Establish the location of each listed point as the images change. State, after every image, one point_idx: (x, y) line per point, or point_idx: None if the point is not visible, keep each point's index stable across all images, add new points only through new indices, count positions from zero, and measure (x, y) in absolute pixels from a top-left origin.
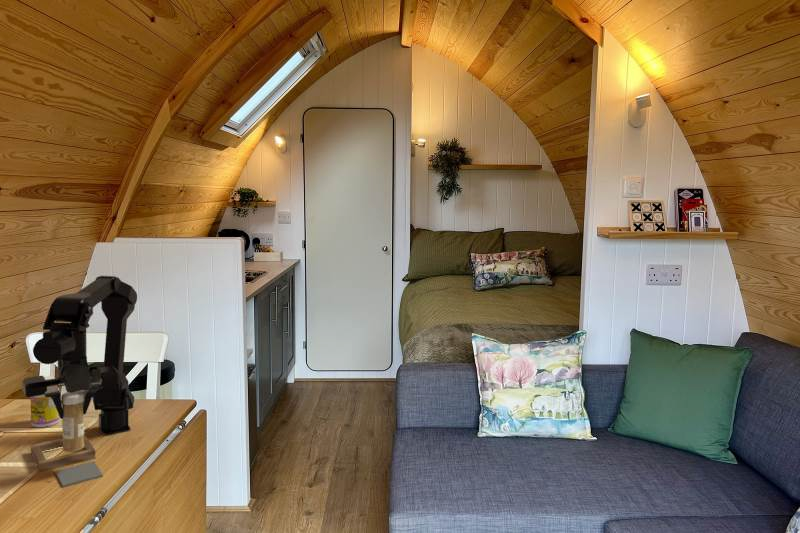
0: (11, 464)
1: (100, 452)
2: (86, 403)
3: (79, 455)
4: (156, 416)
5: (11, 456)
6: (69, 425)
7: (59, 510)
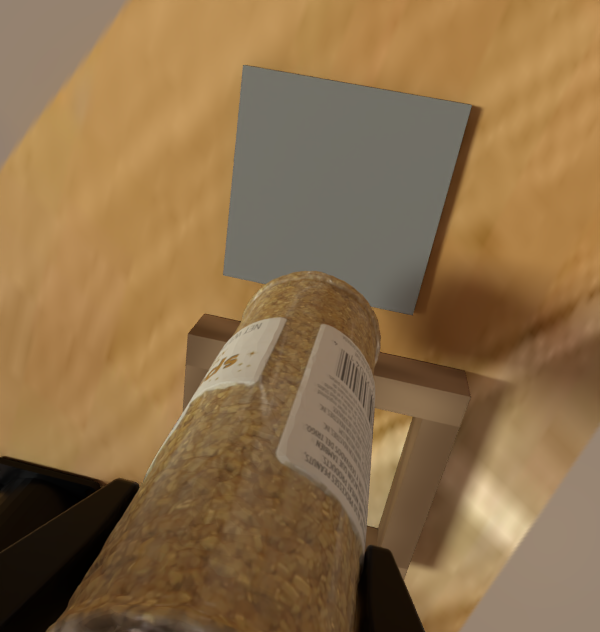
0: (510, 522)
1: (165, 354)
2: (10, 591)
3: None
4: None
5: (471, 580)
6: (333, 416)
7: None
